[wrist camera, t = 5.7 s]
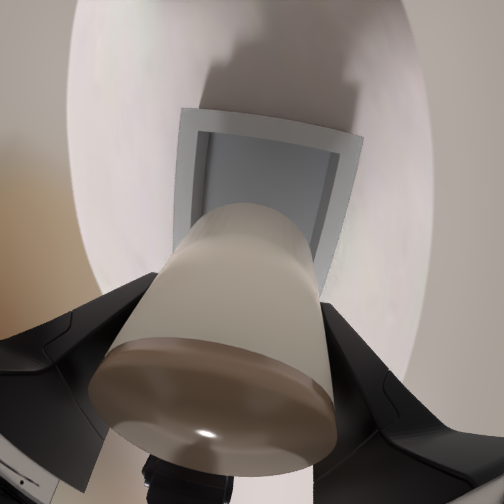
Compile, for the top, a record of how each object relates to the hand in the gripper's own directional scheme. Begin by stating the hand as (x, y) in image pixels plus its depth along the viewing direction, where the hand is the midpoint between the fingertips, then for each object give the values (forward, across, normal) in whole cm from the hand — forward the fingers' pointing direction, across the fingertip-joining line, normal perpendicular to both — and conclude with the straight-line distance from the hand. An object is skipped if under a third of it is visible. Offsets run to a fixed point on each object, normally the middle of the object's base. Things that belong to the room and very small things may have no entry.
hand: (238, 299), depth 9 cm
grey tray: (+10, 0, +3) cm, 10 cm away
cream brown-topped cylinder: (+2, 0, 0) cm, 2 cm away
